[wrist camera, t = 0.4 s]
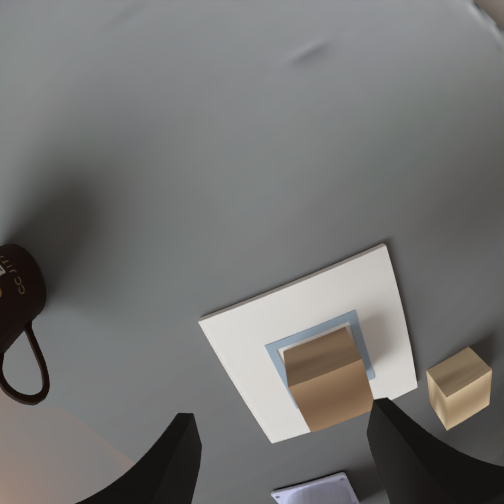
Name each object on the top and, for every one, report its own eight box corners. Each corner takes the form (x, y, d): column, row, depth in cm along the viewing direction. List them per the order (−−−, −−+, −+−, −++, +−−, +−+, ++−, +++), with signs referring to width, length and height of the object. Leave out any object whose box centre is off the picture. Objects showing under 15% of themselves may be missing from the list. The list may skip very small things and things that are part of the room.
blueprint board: (414, 383, 23) (417, 387, 22) (271, 438, 24) (272, 444, 23) (382, 243, 20) (386, 245, 19) (199, 317, 21) (198, 322, 20)
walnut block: (360, 373, 21) (376, 407, 18) (304, 395, 22) (311, 432, 18) (345, 326, 20) (361, 358, 17) (282, 351, 21) (287, 387, 17)
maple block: (468, 380, 23) (488, 404, 19) (429, 402, 23) (447, 430, 20) (468, 345, 22) (491, 369, 18) (425, 369, 22) (446, 397, 18)
